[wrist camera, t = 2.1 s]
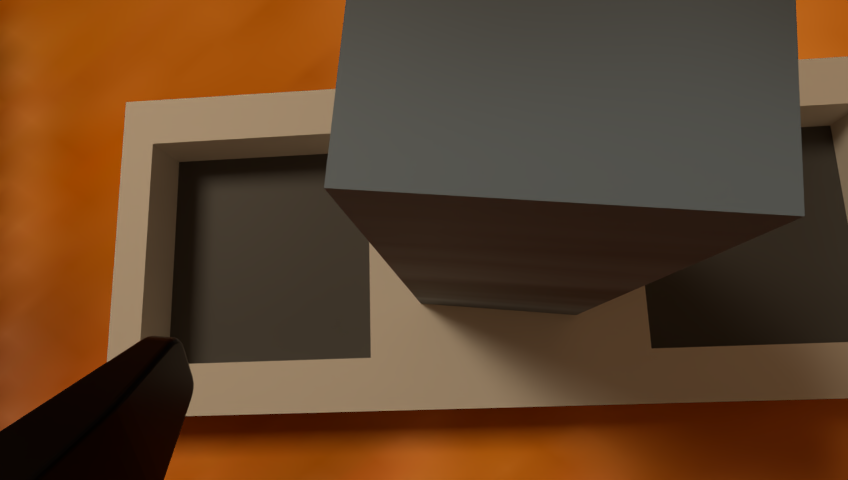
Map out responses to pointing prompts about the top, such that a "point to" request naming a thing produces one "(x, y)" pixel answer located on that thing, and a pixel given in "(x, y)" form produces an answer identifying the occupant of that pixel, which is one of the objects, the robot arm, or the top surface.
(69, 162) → the top surface
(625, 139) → the slate block
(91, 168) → the top surface
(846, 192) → the board
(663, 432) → the top surface
